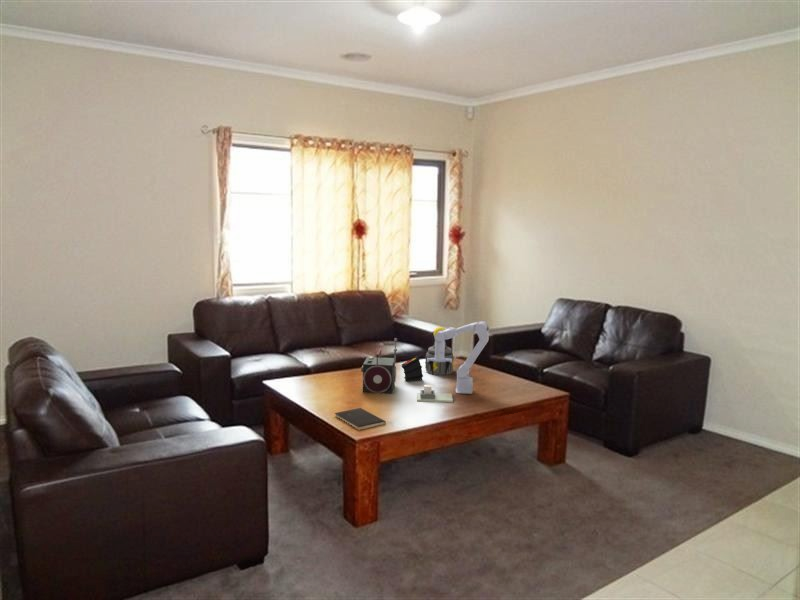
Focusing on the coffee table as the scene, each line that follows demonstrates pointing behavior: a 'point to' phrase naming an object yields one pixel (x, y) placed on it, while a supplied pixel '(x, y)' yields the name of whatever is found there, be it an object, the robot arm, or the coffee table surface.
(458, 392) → the robot arm
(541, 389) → the coffee table surface
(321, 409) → the coffee table surface
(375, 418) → the hardcover book
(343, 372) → the coffee table surface
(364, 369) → the boombox
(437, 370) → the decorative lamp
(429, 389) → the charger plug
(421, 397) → the plate
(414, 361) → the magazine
